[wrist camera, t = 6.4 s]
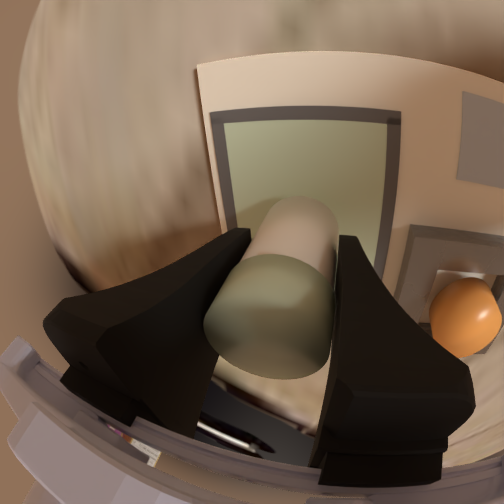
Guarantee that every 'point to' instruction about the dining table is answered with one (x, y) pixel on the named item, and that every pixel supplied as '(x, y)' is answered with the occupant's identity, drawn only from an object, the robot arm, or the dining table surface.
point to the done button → (464, 316)
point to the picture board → (358, 146)
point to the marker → (280, 294)
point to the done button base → (446, 265)
